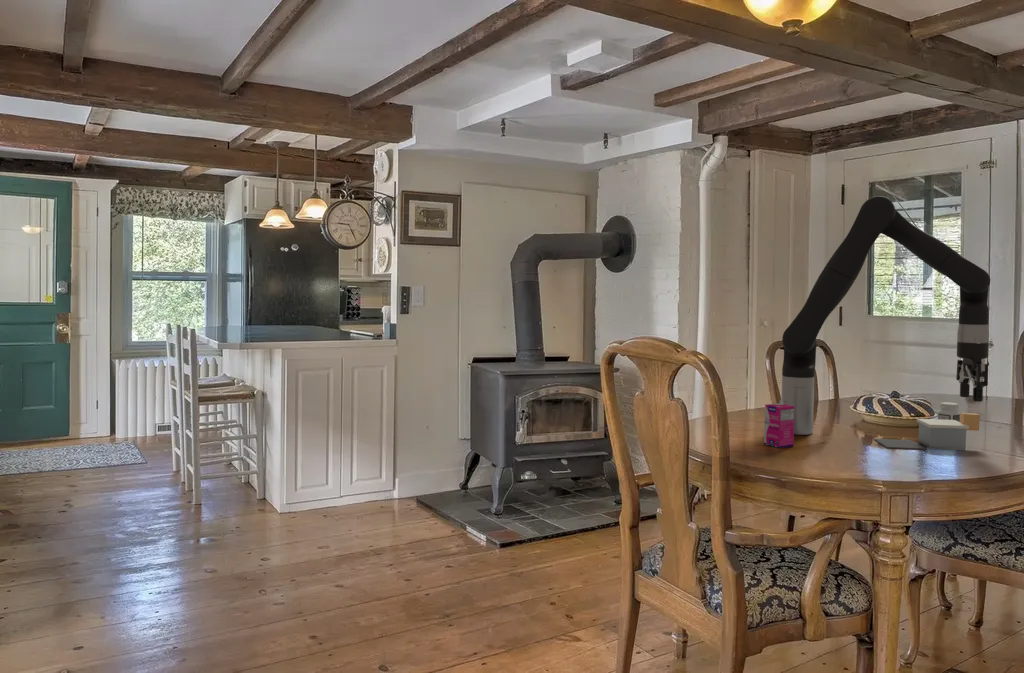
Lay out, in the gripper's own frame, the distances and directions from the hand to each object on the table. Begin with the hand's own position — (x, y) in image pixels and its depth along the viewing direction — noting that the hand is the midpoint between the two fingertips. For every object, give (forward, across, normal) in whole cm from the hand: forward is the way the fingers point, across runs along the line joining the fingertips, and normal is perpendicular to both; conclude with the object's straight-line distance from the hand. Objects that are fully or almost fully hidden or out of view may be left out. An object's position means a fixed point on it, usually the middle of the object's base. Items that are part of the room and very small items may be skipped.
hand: (970, 399), depth 213 cm
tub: (+14, 0, -7) cm, 15 cm away
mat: (+13, 0, -18) cm, 23 cm away
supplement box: (+13, +8, -52) cm, 54 cm away
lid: (+9, 0, -5) cm, 10 cm away
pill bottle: (+14, -17, +1) cm, 22 cm away
